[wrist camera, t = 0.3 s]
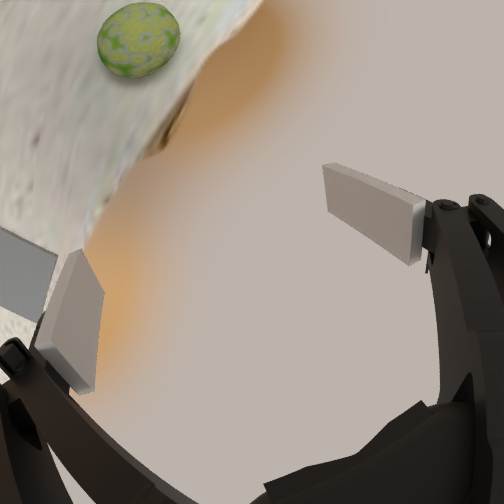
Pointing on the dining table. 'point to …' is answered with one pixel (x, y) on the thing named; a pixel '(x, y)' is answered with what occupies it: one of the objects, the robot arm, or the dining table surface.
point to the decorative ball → (138, 39)
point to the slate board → (24, 275)
